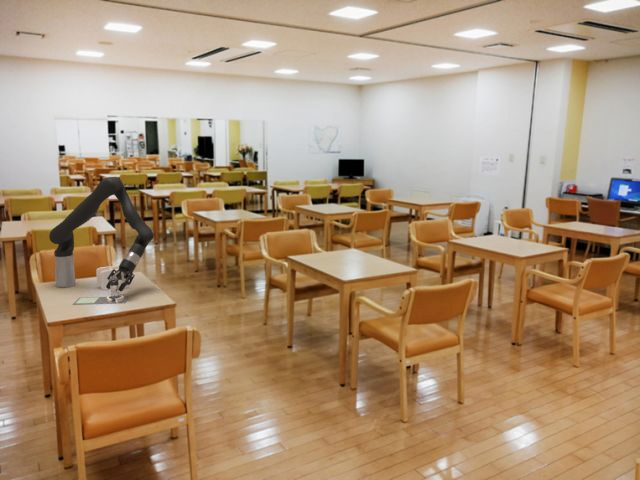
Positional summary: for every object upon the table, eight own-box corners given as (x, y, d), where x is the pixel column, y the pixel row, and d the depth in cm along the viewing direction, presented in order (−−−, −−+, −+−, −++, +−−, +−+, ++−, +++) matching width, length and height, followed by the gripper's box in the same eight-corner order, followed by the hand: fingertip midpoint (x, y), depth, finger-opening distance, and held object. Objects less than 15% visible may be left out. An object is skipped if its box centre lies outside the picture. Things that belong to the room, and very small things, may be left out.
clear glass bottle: (110, 301, 269) (108, 282, 267) (112, 298, 273) (110, 279, 271) (118, 301, 270) (117, 281, 268) (120, 298, 274) (119, 279, 272)
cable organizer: (100, 292, 287) (98, 271, 285) (97, 287, 296) (95, 267, 293) (129, 288, 294) (128, 268, 292) (125, 284, 303) (124, 264, 301)
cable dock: (71, 307, 263) (71, 302, 262) (79, 299, 275) (79, 294, 275) (124, 305, 266) (124, 300, 266) (130, 297, 278) (130, 293, 278)
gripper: (115, 256, 278) (98, 283, 270) (135, 260, 271) (119, 287, 264) (124, 264, 283) (108, 291, 276) (144, 268, 277) (128, 295, 269)
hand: (113, 289), depth 270 cm, fingers open, 8 cm apart
